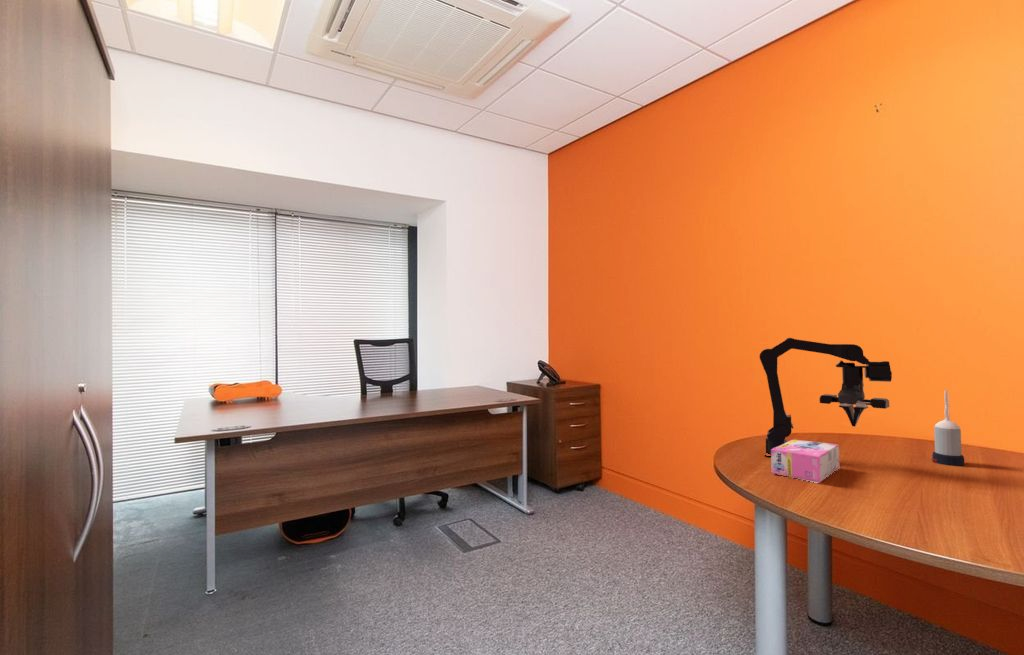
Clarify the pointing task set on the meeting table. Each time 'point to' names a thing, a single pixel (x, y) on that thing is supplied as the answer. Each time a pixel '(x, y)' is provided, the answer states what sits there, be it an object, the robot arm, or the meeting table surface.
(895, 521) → the meeting table surface
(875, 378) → the robot arm
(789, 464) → the gum box
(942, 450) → the humidifier
